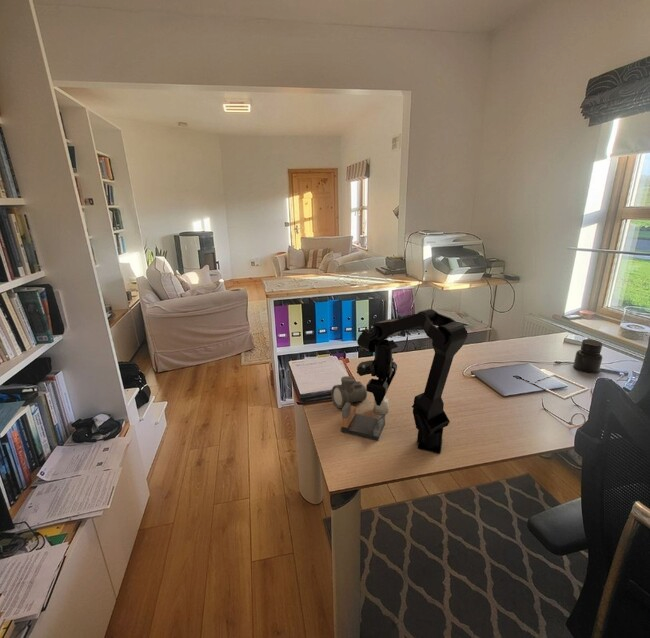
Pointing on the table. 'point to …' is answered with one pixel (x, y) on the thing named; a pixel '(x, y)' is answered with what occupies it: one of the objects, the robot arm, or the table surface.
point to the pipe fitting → (348, 392)
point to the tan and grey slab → (347, 414)
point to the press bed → (365, 426)
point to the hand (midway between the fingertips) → (381, 398)
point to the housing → (382, 406)
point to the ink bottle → (589, 356)
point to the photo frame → (566, 380)
